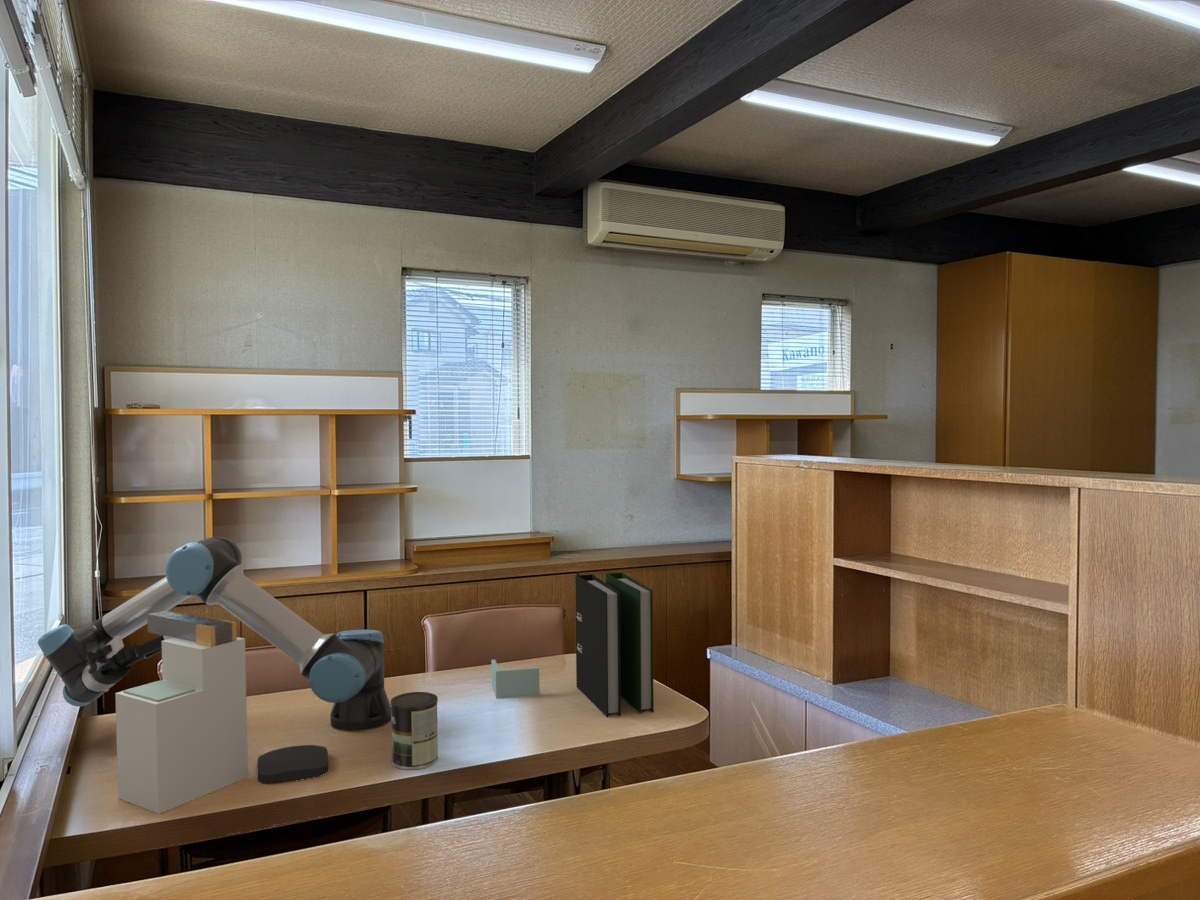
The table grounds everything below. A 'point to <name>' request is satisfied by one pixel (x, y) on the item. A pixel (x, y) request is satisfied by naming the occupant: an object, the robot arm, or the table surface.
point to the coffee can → (414, 730)
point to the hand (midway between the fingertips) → (151, 634)
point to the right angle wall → (515, 682)
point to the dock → (184, 727)
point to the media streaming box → (292, 764)
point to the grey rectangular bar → (192, 628)
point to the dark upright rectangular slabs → (614, 642)
